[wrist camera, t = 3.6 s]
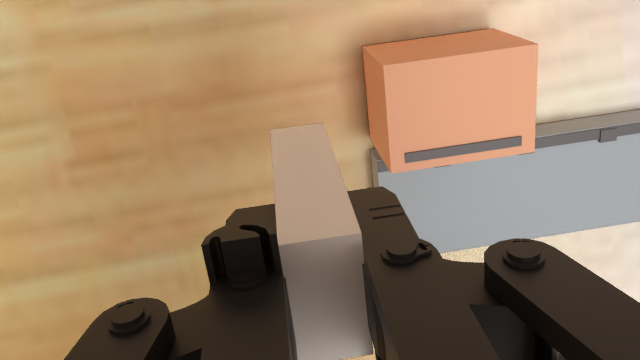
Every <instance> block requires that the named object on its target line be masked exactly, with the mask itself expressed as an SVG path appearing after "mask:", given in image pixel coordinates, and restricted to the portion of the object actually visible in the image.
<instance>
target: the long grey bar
mask: <svg viewBox="0 0 640 360" xmlns="http://www.w3.org/2000/svg"><path fill="white" fill-rule="evenodd" d="M370 153H371V164H372V176H373V187H381V186H383V187H384V188H386V189H388V190H389V191H391V192H393V193H395V194H396V196H397V198H398V200H399V202H400V203H401V206H402V207H403V209H404V211H405V213H406V215H407V216H408V218H409V220H410V222H411V224H412V226H413V228H414V230H415V231H416V233H417V235H418V237H419V238H420V239H423V240H425V241H427V242H430V243H431V244H432V245H433V246H434V247H435V248H436V249H437V250H438V251H439V253H445V252H451V251H458V250H464V249H470V248H476V247H483V246H489V245H493V244H495V243H497V242H499V241H504V240H509V239H515V238H520V239H521V238H525V239H532V238H539V237H545V236H551V235H557V234H564V233H570V232H576V231H582V230H589V229H595V228H601V227H607V226H614V225H620V224H626V223H632V222H639V221H640V109H639V110H632V111H625V112H618V113H612V114H605V115H598V116H591V117H585V118H578V119H571V120H565V121H558V122H551V123H544V124H538V125H535V152H531V153H525V154H518V155H511V156H505V157H498V158H491V159H485V160H478V161H472V162H465V163H458V164H452V165H445V166H439V167H432V168H425V169H419V170H412V171H406V172H399V173H392V174H391V173H390V171H389V169H388V168H387V166H386V164H385V163H384V161H383V159H382V158H381V156H380V155H379V153H378V151H377V150H376V149H370Z"/></svg>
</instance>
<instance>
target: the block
mask: <svg viewBox="0 0 640 360" xmlns="http://www.w3.org/2000/svg"><path fill="white" fill-rule="evenodd" d="M362 48H363V60H364V71H365V83H366V94H367V106H368V118H369V129H370V140H371V141H372V143H373V145H374V146H375V148H376V150H377V151H378V153H379V155H380V156H381V158H382V159H383V161H384V163H385V164H386V166H387V168H388V169H389V171H390V173H391V174H392V173H399V172H406V171H412V170H419V169H425V168H432V167H439V166H445V165H452V164H458V163H465V162H472V161H478V160H485V159H491V158H498V157H505V156H511V155H518V154H525V153H531V152H535V124H536V93H537V62H538V44H537V43H534V42H531V41H528V40H525V39H522V38H519V37H517V36H514V35H511V34H508V33H505V32H502V31H499V30H496V29H485V30H478V31H471V32H464V33H456V34H449V35H442V36H435V37H427V38H420V39H413V40H406V41H398V42H391V43H384V44H377V45H369V46H362Z"/></svg>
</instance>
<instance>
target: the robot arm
mask: <svg viewBox="0 0 640 360" xmlns="http://www.w3.org/2000/svg"><path fill="white" fill-rule="evenodd" d="M270 135H271V151H272V166H273V181H274V197H275V204H270V205H263V206H256V207H249V208H242V209H236V210H235V211H234V212H233V213H232V214H231V216H230V217H229V218H228V219H227V220H226V226H224V227H222V228H219V229H217V230H215V231H213V232H212V233H211V234H209V235H208V236H207V237H206V238H205V239H204V241H203V243H202V245H201V246H202V250H203V255H204V259H205V264H206V268H207V272H208V277H209V281H210V291H209V295H208V296H207V297H205V298H204V299H202V300H200V301H199V302H197V303H195V304H192V305H190V306H188V307H185V308H182V309H180V310H177V311H174V312H171V313H169V310H168V307H167V305H166V304H165V303H164V302H162V301H160V300H158V299H152V298H139V299H131V300H127V301H125V302H121V303H119V304H116V305H115V306H113V307H111V308H110V309H108V310H106V311H104V312H103V313H102V314H101V315H100V316H99V317H98V318H96V319H95V320H94V321H93V323H92V324H91V325H90V326H89V328H88V329H87V330H86V332H85V333H84V334H83V335H82V337H81V338H80V339H79V341H78V342H77V343H76V345H75V346H74V347H73V348H72V350H71V351H70V352H69V354H68V355H67V356H66V357H65V359H64V360H340V359H346V358H352V357H359V356H365V355H371V354H373V346H372V341H373V345H374V348H375V355H376V360H640V303H639V302H637V301H636V300H634V299H633V298H631V297H630V296H628V295H627V294H625V293H624V292H622V291H621V290H619V289H617V288H616V287H614V286H613V285H611V284H610V283H608V282H607V281H605V280H604V279H602V278H601V277H599V276H597V275H596V274H594V273H593V272H591V271H590V270H588V269H587V268H585V267H584V266H582V265H581V264H579V263H578V262H576V261H574V260H573V259H571V258H570V257H568V256H567V255H565V254H564V253H562V252H561V251H559V250H558V249H556V248H554V247H552V246H550V245H548V244H546V243H543V242H540V241H535V240H531V239H525V238H521V239H520V238H515V239H509V240H504V241H499V242H497V243H495V244H493V245H491V246H489V248H488V249H487V250H486V251H485V252H484V263H473V262H457V261H450V260H446V259H442V257H441V255H440V253H439V251H438V250H437V249H436V248H435V247H434V246H433V245H432V244H431V243H430V242H427V241H425V240H423V239H420V238H419V237H418V235H417V233H416V231H415V230H414V228H413V226H412V224H411V222H410V220H409V218H408V216H407V215H406V213H405V211H404V209H403V207H402V206H401V203H400V202H399V200H398V198H397V196H396V194H395V193H393V192H391V191H389V190H388V189H386V188H384V187H383V186H381V187H374V188H367V189H360V190H354V191H347V190H346V187H345V184H344V182H343V179H342V176H341V173H340V170H339V167H338V164H337V162H336V159H335V156H334V153H333V150H332V147H331V145H330V142H329V139H328V136H327V133H326V130H325V127H324V125H323V123H316V124H309V125H302V126H295V127H288V128H281V129H274V130H270ZM559 353H560V354H559Z"/></svg>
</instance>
